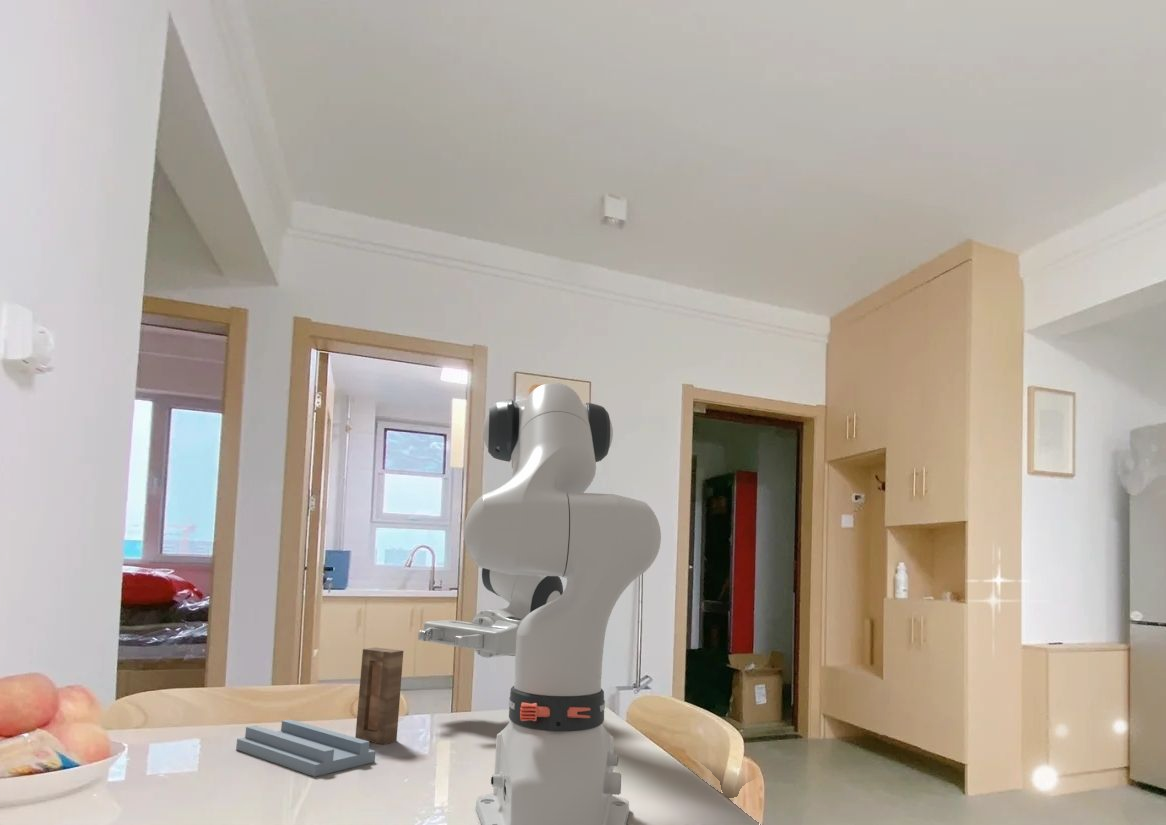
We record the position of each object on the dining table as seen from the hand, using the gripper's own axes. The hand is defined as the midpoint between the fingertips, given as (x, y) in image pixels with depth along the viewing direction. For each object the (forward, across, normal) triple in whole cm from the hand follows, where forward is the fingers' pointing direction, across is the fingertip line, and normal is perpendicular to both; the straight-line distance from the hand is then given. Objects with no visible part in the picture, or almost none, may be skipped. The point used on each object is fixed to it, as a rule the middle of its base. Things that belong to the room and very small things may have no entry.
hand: (438, 638), depth 134 cm
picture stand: (+26, 0, +15) cm, 29 cm away
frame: (+12, 0, +15) cm, 19 cm away
